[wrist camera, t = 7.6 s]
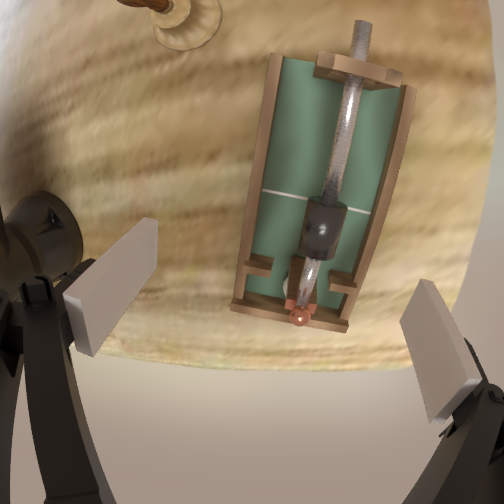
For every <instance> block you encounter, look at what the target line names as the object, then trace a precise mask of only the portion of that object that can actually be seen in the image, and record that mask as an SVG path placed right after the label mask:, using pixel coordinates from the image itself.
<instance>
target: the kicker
mask: <svg viewBox="0 0 504 504" xmlns="http://www.w3.org/2000/svg"><path fill="white" fill-rule="evenodd" d="M372 26H373V25H372V24H371V23H369V22H367V21H363V20H355V24H354V31H353V37H352V43H351V50H350V56H349V57H351V58H355V59H359V60H362V61H366V62H367V58H368V52H369V46H370V40H371V33H372ZM363 82H364V78H362V77H359V76H355V75H351V74H347V73H346V79H345V84H344V90H343V95H342V101H341V106H340V111H339V116H338V121H337V126H336V131H335V136H334V141H333V146H332V150H331V155H330V160H329V164H328V169H327V173H326V178H325V182H324V187H323V191H322V195H321V196H311V197H309V198H308V202H307V207H306V211H305V216H304V220H303V224H302V229H301V233H300V237H299V242H298V246H297V248H298V250H299V252H300V253H302V254H303V255H305V256H306V259H305V258H300V257H295V256H291V261H290V265H289V274H288V283H287V291H286V299H285V307H284V309H289V310H291V311H290V320H291V322H292V323H293V324H294V325H296V326H304V325H306V324H307V323H308V322H309V321H310V319H311V314H314V313H315V310H316V307H317V274H318V271H319V267H320V264H321V261H327V260H331V259H333V258H334V256H335V252H336V249H337V246H338V242H339V239H340V235H341V232H342V228H343V225H344V221H345V218H346V214H347V210H348V207H347V206H346V205H345V204H344V203H342V202H340V201H338V197H339V193H340V189H341V185H342V181H343V177H344V172H345V168H346V164H347V160H348V155H349V151H350V146H351V142H352V137H353V132H354V128H355V123H356V118H357V113H358V108H359V103H360V98H361V92H362V87H363Z"/></svg>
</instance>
